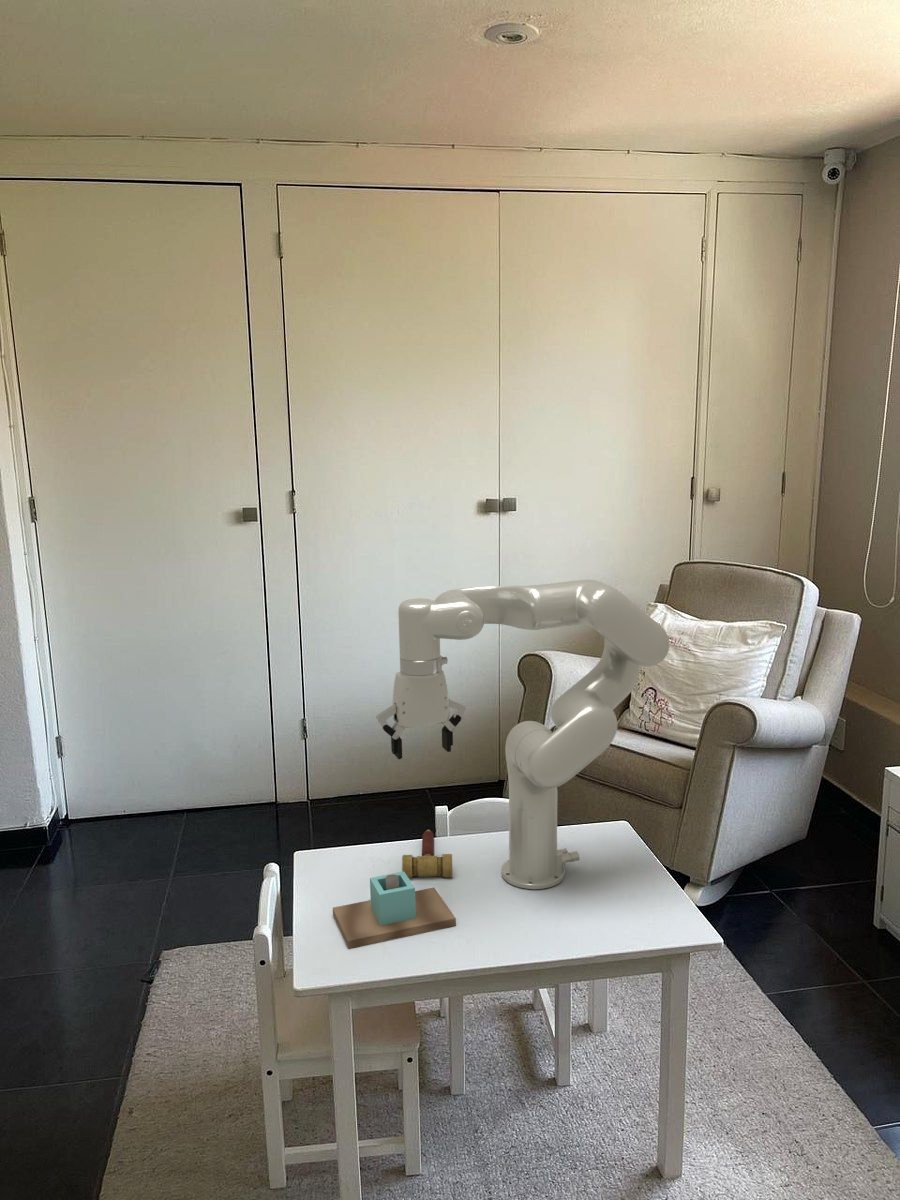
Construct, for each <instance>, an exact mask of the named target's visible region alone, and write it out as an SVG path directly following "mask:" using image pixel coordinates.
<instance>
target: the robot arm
mask: <svg viewBox="0 0 900 1200" xmlns="http://www.w3.org/2000/svg"><path fill="white" fill-rule="evenodd" d="M397 615H398V633H399V634H398V638H399V642H398V643H399V671H397V672H396V673H395V675H394V676H395V677H394V682H393V691H392V693H393V694H392V705H391V706H389V707H388V708H386V709H384V710H383V711H382V712H380V713H378V714H377V715H376V716H375V717H376V720H377V722H378V724H379V725H380V727H381V728H382V730H383V731H384V732H385V733H386V734H387V735H389V736H390V745H391V746H390V747H391V753H392V754H393V755H394V756H395V757H396V759H397V760H402V759H403V741H402V738H401V737H400V736H401V735H402V733H403V732H404V731H405V729H412V728H420V727H427V726H433V725H434V726H435V725H441V724H442V725H443V727H442V728H441V747H442V749H444V750H445V751H446V752H447V753H450V752H452V746H453V745H454V736H453V733H454V731H455V730H456V727H457V726H458V724H459V723H460V722H461V721H462V717H463V715H464V713H465V711H466V707H467V706H466V705H464V704H463V703H460V702H458V701H455V700H453V699H450V698H449V691H448V685H447V680H446V676H445V675H446V674H445V672H444V670H443V669H442V667H443V666H444V665H445V664H447V665H448V662H449V661H448V657H447V656H442V655H441V639H443V640H444V639H445V640H457V641H459V640H460V641H462V640H463V641H465V640H470V639H472V638H475V637H476V636H477V635H479V634H480V633H481V631H482V630H483V628H484V625H486V624H487V625H489V624H492V625H501V626H502V625H505V626H509V627H512V628H516V629H520V630H529V631H539V630H547V629H555V628H562V627H563V628H564V627H573V626H579V625H580V626H581V625H586V626H589V628H592V629H594V630H595V631H597V632H598V633H599V634H600V635H601V636H602V637H604V646H603V652H602V655H601V657H600V659H599V661H598V662H597V664H596V665H595V666H594V667H593V668H592V669H591V670H590V671H589V672H588V673H587V674H585V676H583V677H581V679H579V680H578V681H577V682H576V683H575V684H573V685H572V686H571V687H569V689H567V690H566V691H565V692H563V693H562V694H561V695H560V696H559V697H558V698H557V699H556V700H555V701H554V702H553V704H552V705H551V710H550V716H551V720H552V722H553V724H554V725H555V727H556V728H557V729H556V730H555V731H552V730H551V729H550V728H549V727H547V726H546V725H545V724H543V723H540V722H538V721H536V720H535V721H533V720H526V721H524V720H523V721H522V722H519V723H517V724H516V725H514V727H512V728H511V730H510V731H509V733H508V735H507V737H506V741H505V748H504V749H505V750H504V751H505V760H506V761H505V762H506V769H507V776H508V838H509V839H508V852H509V853H508V854H509V855H508V857H509V859H508V860H506V861H505V862H504V863H503V864H502V866H501V876H502V878H503V879H504V881H506V882H507V883H508V884H511V885H512V886H514V887H516V888H522V889H527V890H542V889H548V888H553V887H554V886H556V885H559V884H560V883H561V882H562V881H563V880H564V878H565V874H566V872H565V867H564V865H566V863H572V862H573V863H574V862H579V861H580V854H579V851H577V850H575V851H569V852H568V849H567V848H560V849H558V787H561V786H562V785H564V784H566V783H567V782H568V781H570V780H571V779H572V778H574V777H575V776H577V774H578V773H580V772H581V771H583V770H584V769H585V768H586V767H587V766H588V765H589V764H591V762H593V761H595V759H597V758H598V757H599V756H600V755H602V754H603V753H604V752H605V751H606V750H607V748H609V747H610V745H611V744H612V742H613V740H614V739H615V737H616V735H617V731H618V720H617V718H618V717H617V716H616V713H615V712H614V709H615V708H617V707H618V706H619V705H620V704H621V703H622V702H623V701H625V699H626V698H628V696H629V695H630V694H631V692H632V691H633V689H634V688H635V686H636V683H637V682H638V678H639V674H640V670H641V667H644V668H645V667H653V666H656V665H659V664H660V663H661V662H663V660H665V658H666V657H667V655H668V653H669V651H670V638H669V636H668V633H667V631H666V630H665V629H664V627H662V625H660V624H659V623H658V622H657V621H656V620H655V619H653V618H652V617H651V616H650V615H649V614H648V613H646V612H645V611H644V610H642V609H641V608H640V607H639V606H637V604H635V603H634V602H633V601H632V600H630V599H629V597H627V596H626V595H625V594H623V593H622V592H621V591H619V590H618V589H617V588H615V587H613V586H610V585H609V584H606V583H604V582H601V581H598V580H595V579H579V580H569V581H560V582H553V583H552V582H551V583H542V584H533V585H504V586H503V585H500V586H499V585H494V586H493V585H492V586H491V585H489V586H474V587H466V588H456V589H449V590H446V591H445V592H444V591H443V592H442V593H441V594H439V595H438V596H437V597H436V598H435V599H434V600H433V599H431V598H429V599H428V598H410V599H405V600H403V601H402V602H401V603H400V604H399V605H398V613H397ZM450 708H452V709H454V710H455V711H454V713H453V714H452V715H451V717H450ZM391 717H392V720H393V721H394V723H393V724H392V725H391V726H390V725H389V724H388V722H387V720H389V719H390V718H391Z"/></svg>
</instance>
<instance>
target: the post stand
mask: <svg viewBox="0 0 900 1200" xmlns="http://www.w3.org/2000/svg"><path fill="white" fill-rule="evenodd" d="M391 874H392V875H388V874H387V875H388V876H386V890H390V889H395V888H399V876H397V875H393V873H391ZM415 907H416V918H415V919H410V920H405V921H400V922H396V923H391V924H386V925H380V923H379V921H378V920H377V918H376V916H375V914H374V912H373V910H372V909H371V899H369V900H364V901H360V902H355V903H350V904H349V903H348V904H343V905H340V906H339V905H338V906H334V907H332V916H333V918H334V920H335V923H336V925H337V927H338V929H339V931H340V934H341V936H342V938H343V940H344V942H345V945H346V947H347V949H354V948H359V947H363V946H368V945H373V944H377V943H381V942H387V941H391V940H395V939H400V938H405V937H410V936H414V935H420V934H424V933H428V932H434V931H437V930H442V929H447V928H451V927H456V926H457V918H456V916H455V915H454V914H453V912H452V910H451V909H450V908H449V906H448V905H447V903H446V902H445V901H444V899H443V898H442V896H441V895H440V894H439V892H438V891H437V889H436V888H435V887H429V888H424V889H420V890H415Z"/></svg>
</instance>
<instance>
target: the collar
mask: <svg viewBox="0 0 900 1200" xmlns="http://www.w3.org/2000/svg"><path fill="white" fill-rule="evenodd" d="M392 874H393V875H397V876H399V888H395V889H390V890H386V876H388V875H392ZM369 889H370V890H369V891H370V900H371V909H372V910H373V912H374V914H375V916H376V918H377V920H378V921H379V923H380V925H386V924H391V923H396V922H400V921H405V920H410V919H415V918H416V907H415V891H416V887H415V886H414V884H413V883H412V881H411V880H410V878H408V877H407V875H406V874H405V872H402V871H400V872H395V873H390V874H383V875H378V876H373V877H369Z"/></svg>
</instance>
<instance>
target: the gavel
mask: <svg viewBox="0 0 900 1200" xmlns="http://www.w3.org/2000/svg"><path fill="white" fill-rule="evenodd" d="M421 838H422V839H421V841H422V842H421V855H420V856H413V854H403V855H402V859H401V867H402V868H401V872H405V874H406V875H407V877H408V878H409V879H413V878H412V877H417V878H420V877H421V878H422V877H423V878H424V877H425V878H426V877H438V876H442V878H447V877H448V878H453V876H454V875H453V854H452V853H442V855H441V856H438V855H435V835H434V833H433V832H432V831H431V830H430V829H427V830H425V831H424V832H423V833H422V837H421Z"/></svg>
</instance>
